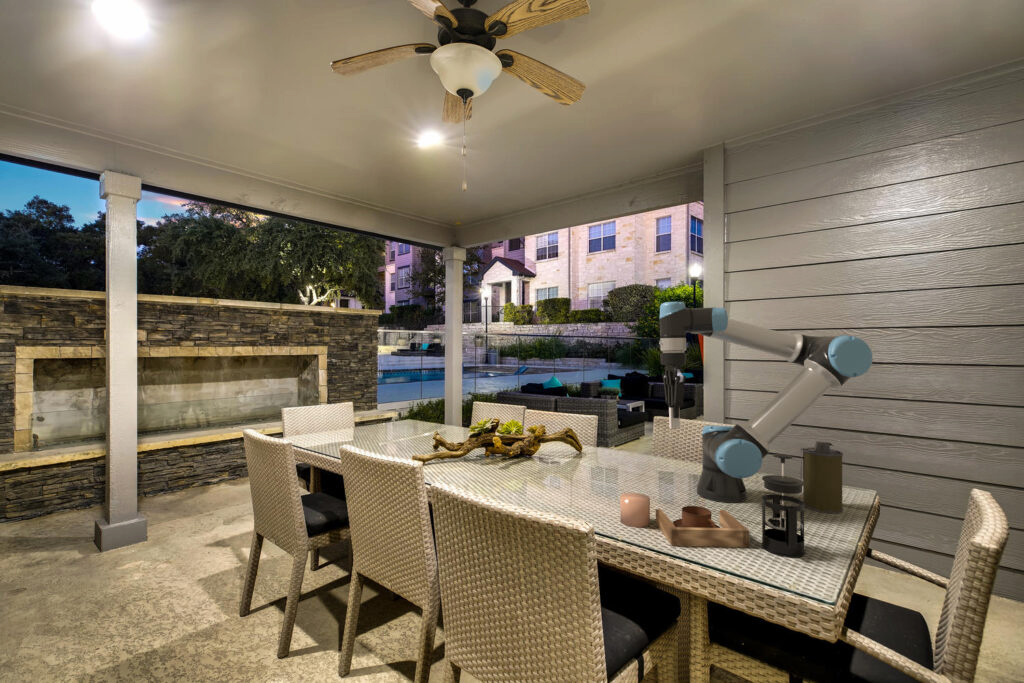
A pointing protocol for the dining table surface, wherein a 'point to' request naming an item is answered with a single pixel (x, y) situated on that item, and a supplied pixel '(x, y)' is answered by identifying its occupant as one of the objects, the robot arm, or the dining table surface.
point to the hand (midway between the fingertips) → (674, 428)
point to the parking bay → (705, 532)
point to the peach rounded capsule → (635, 510)
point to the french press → (784, 529)
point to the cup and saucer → (695, 518)
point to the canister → (822, 478)
